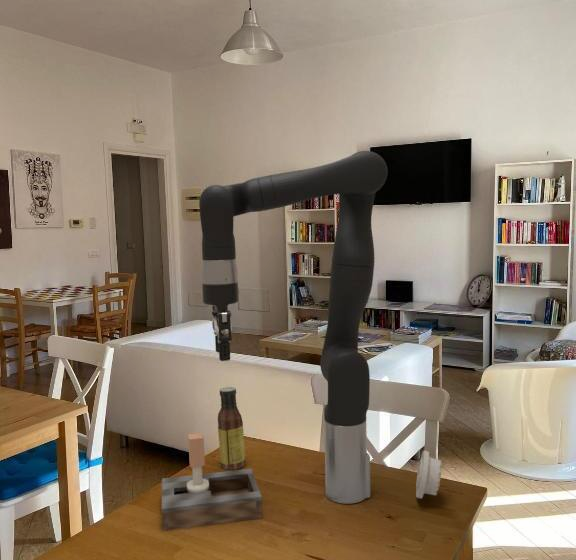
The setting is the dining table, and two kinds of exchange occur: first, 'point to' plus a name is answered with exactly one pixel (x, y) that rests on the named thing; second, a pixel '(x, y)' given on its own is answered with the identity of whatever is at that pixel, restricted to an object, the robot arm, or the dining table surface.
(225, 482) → the keyhole plate
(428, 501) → the dining table surface
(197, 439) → the keyhole peg
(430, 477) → the mechanical component
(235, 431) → the sauce bottle
